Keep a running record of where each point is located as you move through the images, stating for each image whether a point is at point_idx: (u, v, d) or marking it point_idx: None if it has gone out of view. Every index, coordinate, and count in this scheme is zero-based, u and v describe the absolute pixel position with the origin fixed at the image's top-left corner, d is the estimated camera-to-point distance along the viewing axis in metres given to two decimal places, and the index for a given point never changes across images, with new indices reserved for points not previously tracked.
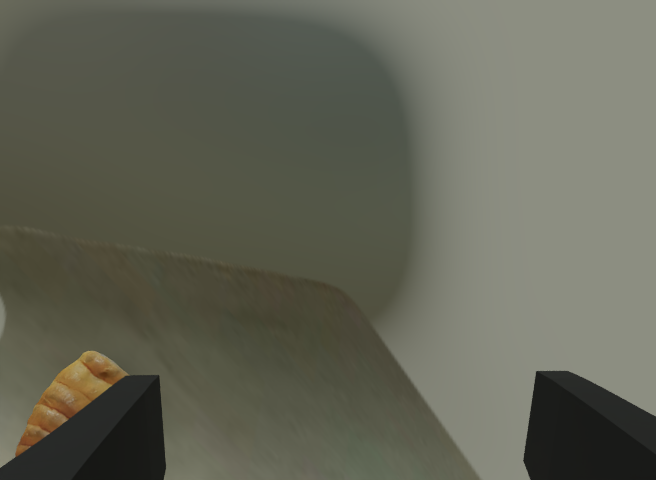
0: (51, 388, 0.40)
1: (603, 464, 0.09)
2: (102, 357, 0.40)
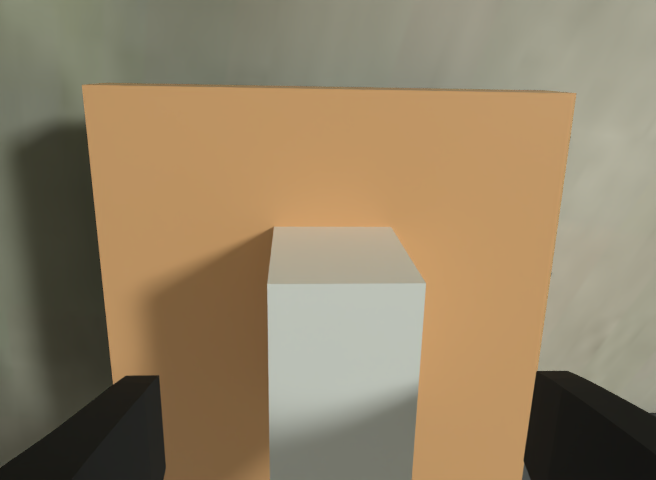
0: None
1: (603, 464, 0.09)
2: None
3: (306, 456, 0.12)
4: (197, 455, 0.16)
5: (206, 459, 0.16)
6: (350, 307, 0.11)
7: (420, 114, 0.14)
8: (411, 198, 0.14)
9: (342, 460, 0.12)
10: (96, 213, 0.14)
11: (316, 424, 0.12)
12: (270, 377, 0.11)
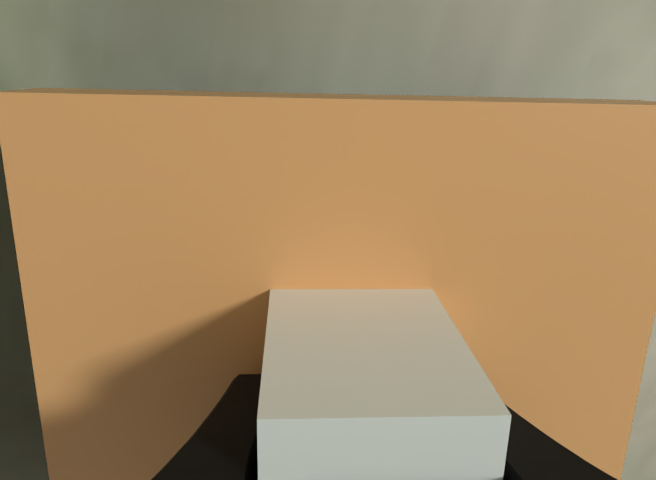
0: None
1: None
2: None
3: None
4: None
5: None
6: (389, 452, 0.07)
7: (477, 135, 0.10)
8: (462, 250, 0.10)
9: None
10: (22, 272, 0.10)
11: None
12: None
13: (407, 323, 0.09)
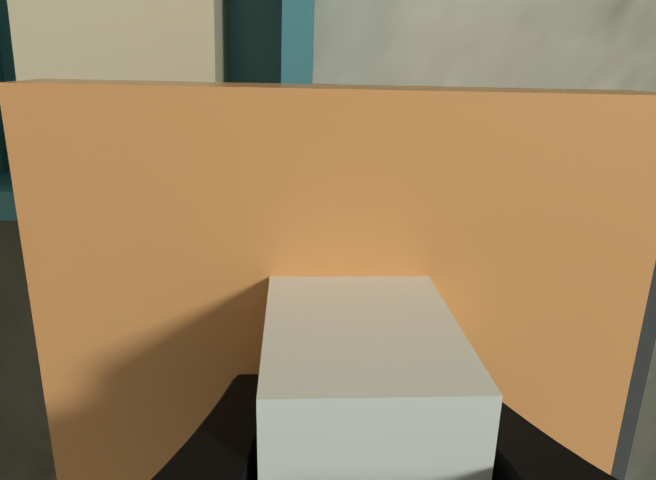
0: None
1: None
2: None
3: None
4: None
5: None
6: (383, 430, 0.07)
7: (473, 124, 0.10)
8: (458, 238, 0.11)
9: None
10: (26, 259, 0.10)
11: None
12: None
13: (403, 309, 0.09)
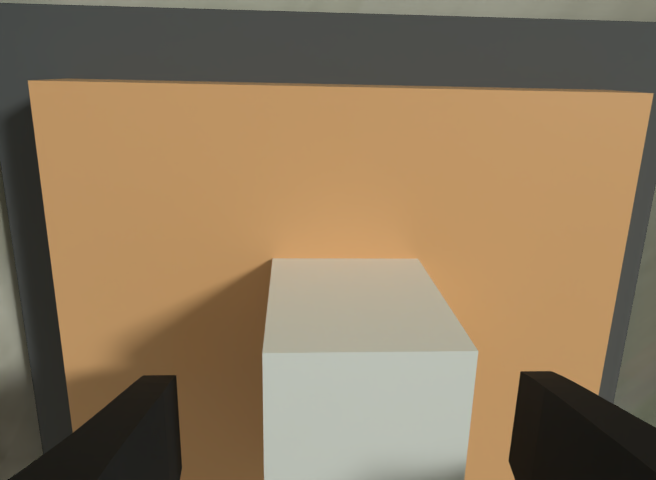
0: None
1: (583, 465, 0.09)
2: None
3: None
4: None
5: None
6: (374, 382, 0.08)
7: (457, 119, 0.11)
8: (444, 223, 0.12)
9: None
10: (50, 243, 0.11)
11: None
12: (266, 474, 0.08)
13: (394, 284, 0.10)
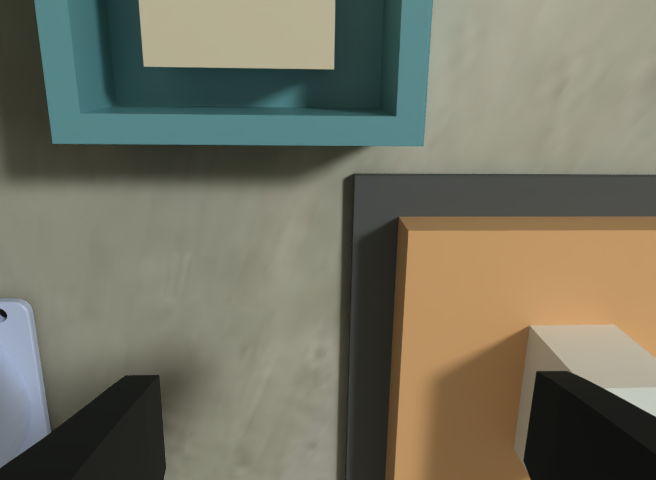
0: None
1: (603, 464, 0.09)
2: None
3: None
4: None
5: None
6: (638, 402, 0.16)
7: (644, 246, 0.19)
8: (631, 304, 0.19)
9: None
10: (403, 317, 0.19)
11: None
12: None
13: (616, 344, 0.18)
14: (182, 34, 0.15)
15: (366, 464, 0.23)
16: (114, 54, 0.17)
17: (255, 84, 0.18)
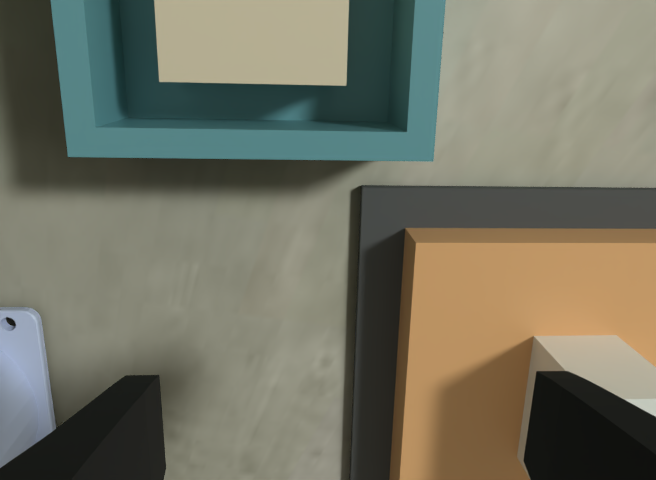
0: None
1: (603, 464, 0.09)
2: None
3: None
4: None
5: None
6: None
7: (646, 258, 0.19)
8: (633, 315, 0.20)
9: None
10: (409, 328, 0.20)
11: None
12: None
13: (618, 355, 0.19)
14: (197, 50, 0.15)
15: (370, 471, 0.23)
16: (127, 67, 0.18)
17: (266, 97, 0.18)
